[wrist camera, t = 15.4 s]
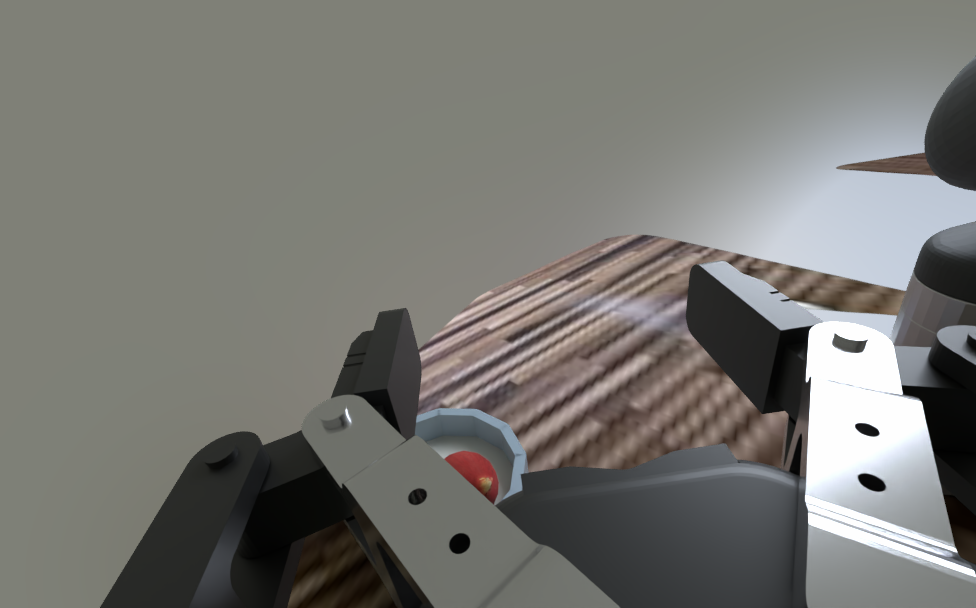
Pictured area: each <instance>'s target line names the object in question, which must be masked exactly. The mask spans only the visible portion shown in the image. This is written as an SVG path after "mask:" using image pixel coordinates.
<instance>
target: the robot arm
mask: <svg viewBox="0 0 976 608" xmlns="http://www.w3.org/2000/svg"><path fill="white" fill-rule="evenodd" d="M925 154H926V158H927V162H928V164H929V166H930V167H931V169H932V171H933V172H934V173H935V174H936V175H937V176H938V177H939V178H940V179H942V180H943V181H945V182H947V183H948V184H950V185H953V186H956V187H959V188H963V189H968V190H974V191H976V56H975V57H974V58H973V59H972V60H971V61H970V62H969V63H968V64H967V65H966V66H965V67H964V68H963V69H962V70H961V71H960V73H959V74H958V75H957V76H956V77H955V79H954V80H953V81H952V82H951V84H950V85H949V86H948V87H947V89H946V90H945V92H944V93H943V95H942V97H941V98H940V100H939V101H938V103H937V105H936V107H935V108H934V111H933V113H932V115H931V118H930V120H929V123H928V126H927V130H926V134H925ZM686 320H687V325H688V328H689V331H690V333H691V334H692V336H693V337H694V338H695V339H696V340H697V341H698V342H699V344H700V345H701V346H702V347H703V348H704V349H705V350H706V351H707V353H708V354H709V355H710V356H711V357H712V358H713V359H714V360H715V362H716V363H717V364H718V365H719V366H720V367H721V368H722V369H723V370H724V372H725V373H726V374H727V375H728V376H729V377H730V378H731V379H732V381H733V382H734V383H735V384H736V385H737V386H738V387H739V388H740V390H741V391H742V392H743V393H744V394H745V395H746V396H747V397H748V399H749V400H750V401H751V402H752V403H753V404H754V405H755V406H756V407H757V409H758V410H759V411H760V412H761V413H762V414H766V413H772V412H779V411H786V412H787V413H788V417H787V421H786V425H785V433H784V442H783V451H782V460H781V469H780V468H776V467H773V466H770V465H766V464H762V463H758V462H752V461H746V460H737V459H736V458H735V457H734V455H733V454H732V452H731V451H730V450H729V448H728V447H727V446H726V444H718V445H712V446H705V447H698V448H692V449H685V450H678V451H673V452H671V453H669V454H666V455H664V456H661V457H659V458H656V459H654V460H651V461H649V462H646V463H644V464H641V465H639V466H636V467H634V468H631V469H627V470H617V469H602V468H586V467H564V468H557V469H551V470H544V471H537V472H530V473H524V474H521V481H522V488H523V490H522V491H519V492H517V493H515V494H513V495H511V496H509V497H507V498H505V499H503V500H502V501H501V502H499V503H498V504H496V505H495V506H494V505H493V504H492V503H491V502H490V501H489V500H488V499H487V498H486V497H485V496H484V495H482V494H481V493H480V492H479V491H478V490H477V489H476V488H475V487H474V486H473V485H472V484H471V483H469V482H468V481H467V480H466V479H465V478H464V477H463V476H462V475H461V474H460V473H459V472H458V471H456V470H455V469H454V468H453V467H452V466H451V465H450V464H449V463H448V462H447V461H446V460H445V459H444V458H442V457H441V456H440V455H439V454H438V453H437V452H436V451H435V450H434V449H433V448H432V447H431V446H429V445H428V444H427V443H426V442H425V441H424V440H423V439H422V438H420V437H419V436H417V435H415V428H416V419H417V410H418V401H419V392H420V383H421V360H420V355H419V351H418V347H417V343H416V339H415V335H414V331H413V328H412V324H411V320H410V316H409V313H408V310H407V309H406V308H403V309H397V310H389V311H383V312H379V314H378V317H377V320H376V323H375V326H374V330H372V331H366V332H362V333H361V334H360V336H358V337H357V339H356V340H355V341H354V342H353V343H352V344H351V347H350V350H349V352H348V355H347V358H346V360H345V362H344V365H343V366H344V368H342V370H341V373H340V375H339V378H338V381H337V384H336V386H335V388H334V391H333V394H332V397H331V399H329V400H326V401H324V402H322V403H321V404H319V405H318V406H316V407H315V408H314V409H313V410H312V411H311V412H309V414H308V415H307V416H306V417H305V419H304V421H303V424H302V430H301V431H299V432H297V433H295V434H292V435H290V436H287V437H284V438H282V439H279V440H276V441H274V442H271V443H268V444H266V445H262V442H261V440H260V439H259V438H258V436H257V435H256V434H254V433H252V432H236V433H232V434H229V435H226V436H224V437H221V438H219V439H217V440H215V441H213V442H211V443H210V444H208V445H207V446H205V447H204V448H203V449H201V450H200V451H199V452H198V453H197V454H196V455H195V456H194V457H193V458H192V459H191V460H190V462H189V463H188V464H187V466H186V468H185V470H184V471H183V473H182V474H181V476H180V478H179V479H178V481H177V482H176V484H175V486H174V487H173V489H172V491H171V492H170V494H169V496H168V497H167V499H166V501H165V502H164V504H163V505H162V507H161V509H160V510H159V512H158V514H157V515H156V517H155V518H154V520H153V522H152V523H151V525H150V527H149V528H148V530H147V532H146V533H145V535H144V536H143V539H142V540H141V541H140V543H139V545H138V546H137V548H136V549H135V551H134V553H133V555H132V556H131V558H130V559H129V561H128V563H127V564H126V566H125V568H124V569H123V571H122V572H121V574H120V576H119V577H118V579H117V581H116V582H115V584H114V586H113V587H112V589H111V590H110V592H109V594H108V595H107V597H106V599H105V600H104V602H103V604H102V605H101V607H100V608H287V606H288V602H289V598H290V594H291V590H292V586H293V583H294V579H295V575H296V571H297V567H298V563H299V560H300V556H301V552H302V548H303V544H304V540H305V537H306V536H308V535H311V534H313V533H315V532H317V531H320V530H322V529H324V528H326V527H329V526H331V525H333V524H335V523H338V522H340V521H342V520H343V521H344V523H345V524H346V526H347V527H348V529H349V530H350V532H351V534H352V535H353V537H354V538H355V540H356V541H357V543H358V544H359V546H360V547H361V549H362V550H363V552H364V553H365V555H366V556H367V558H368V559H369V561H370V563H371V564H372V566H373V567H374V569H375V570H376V572H377V573H378V575H379V576H380V578H381V580H382V581H383V583H384V585H385V586H386V588H387V590H388V592H389V594H390V596H391V597H392V599H393V601H394V603H395V605H396V606H397V608H976V565H975V564H973V563H971V562H969V561H967V560H965V559H963V558H961V557H960V556H959V554H958V553H957V551H956V548H955V544H954V540H953V536H952V532H951V527H950V523H949V519H948V514H947V510H946V506H945V501H944V497H943V494H944V495H952V496H955V497H956V498H957V499H958V500H959V501H960V502H961V503H962V504H963V505H964V506H966V507H967V508H968V509H969V510H970V511H971V512H972V513H973V514H974V515H975V516H976V221H975V222H971V223H967V224H963V225H960V226H956V227H952V228H949V229H946V230H943V231H941V232H939V233H937V234H935V235H933V236H932V237H930V238H929V239H928V240H927V241H926V243H925V244H924V245H923V247H922V249H921V251H920V254H919V256H918V259H917V262H916V265H915V268H914V270H913V273H912V276H911V279H910V281H909V284H908V287H907V290H906V293H905V296H904V298H903V301H902V305H901V307H900V310H899V313H898V316H897V319H896V321H895V324H894V327H893V330H892V333H891V336H890V338H889V339H888V338H887V337H886V336H884V335H883V334H881V333H879V332H877V331H875V330H873V329H870V328H867V327H864V326H861V325H857V324H851V323H845V322H826V323H824V322H823V321H822V320H820V319H819V318H817V317H816V316H814V315H813V314H811V313H810V312H808V311H807V310H806V309H804V308H803V307H801V306H800V305H798V304H797V303H795V302H794V301H790V299H789V298H788V297H787V296H785V295H784V294H782V293H778V290H776V289H775V288H773V287H772V286H770V285H769V284H768V283H766V282H765V281H762V280H759V279H756V278H753V277H751V276H748V275H744V274H742V273H741V272H740V271H738V270H737V269H735V268H734V267H732V266H731V265H730V264H728V263H727V262H725V261H716V262H709V263H702V264H696V265H694V266H693V267H692V268H691V271H690V278H689V288H688V299H687V309H686Z"/></svg>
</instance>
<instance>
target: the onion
mask: <svg viewBox="0 0 976 608" xmlns="http://www.w3.org/2000/svg"><path fill="white" fill-rule="evenodd" d="M445 460H446V461H447V462H448V463H449V464H450V465H451V466H452V467H453V468H454V469H455V470H456V471H458V472H459V473H460V474H461V475H462V476H463V477H464V478H465V479H466V480H467V481H468V482H469V483H471V484H472V485H473V486H474V487H475V488H476V489H477V490H478V491H479V492H480V493H481V494H482V495H484V496H485V497H486V498H487V499H488V500H489V501H490V502H491V503H492V504H493V505H494V503H495V500H496V498H497V495H498V488H499V481H498V478H497V474H496V471H495V470H494V468H493V466H492V465H491V463H490V461H489V460H487V459H486V458H484V457H483V456H481V455H480V454H478V453H475V452H469V451H460V452H456V453H453V454H450V455H448V456H447V457H446V458H445Z"/></svg>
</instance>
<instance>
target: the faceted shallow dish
mask: <svg viewBox="0 0 976 608" xmlns="http://www.w3.org/2000/svg"><path fill="white" fill-rule="evenodd" d="M415 435H417V436H419V437H420V438H422V439H423V440H424V441H425V442H426V443H427V444H428V445H429V446H431V447H432V448H433V449H434V450H435V451H436V452H437V453H438V454H439V455H440V456H441V457H442V458H444V459H445V458H446V457H447V456H448V455H450V454H453V453H456V452H460V451H469V452H475V453H478V454H480V455H481V456H483V457H484V458H486V459H487V460H489V461H490V463H491V465H492V466H493V468H494V470H495V471H496V474H497V478H498V481H499V488H498V495H497V498H496V500H495V503H494V506H495V505H496V504H498V503H499V502H501V501H502V500H503V499H505V498H507V497H509V496H511V495H513V494H515V493H517V492H519V491H522V490H523V488H522V481H521V474H524V473H528V465H527V457H526V453H525V451H524V449H523V448H522V446H521V444H520V443H519V441H518V439H517V438H516V436H515V434H514V433H513V431H512V429H511V428H510V426H509V425H508V424H507V423H505V422H503V421H500V420H498V419H496V418H494V417H492V416H490V415H488V414H486V413H484V412H482V411H480V410H478V409H477V410H476V409H443V408H439V409H436V410H433V411H430V412H427V413H424V414H421V415H418V416H417V419H416V428H415Z"/></svg>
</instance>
